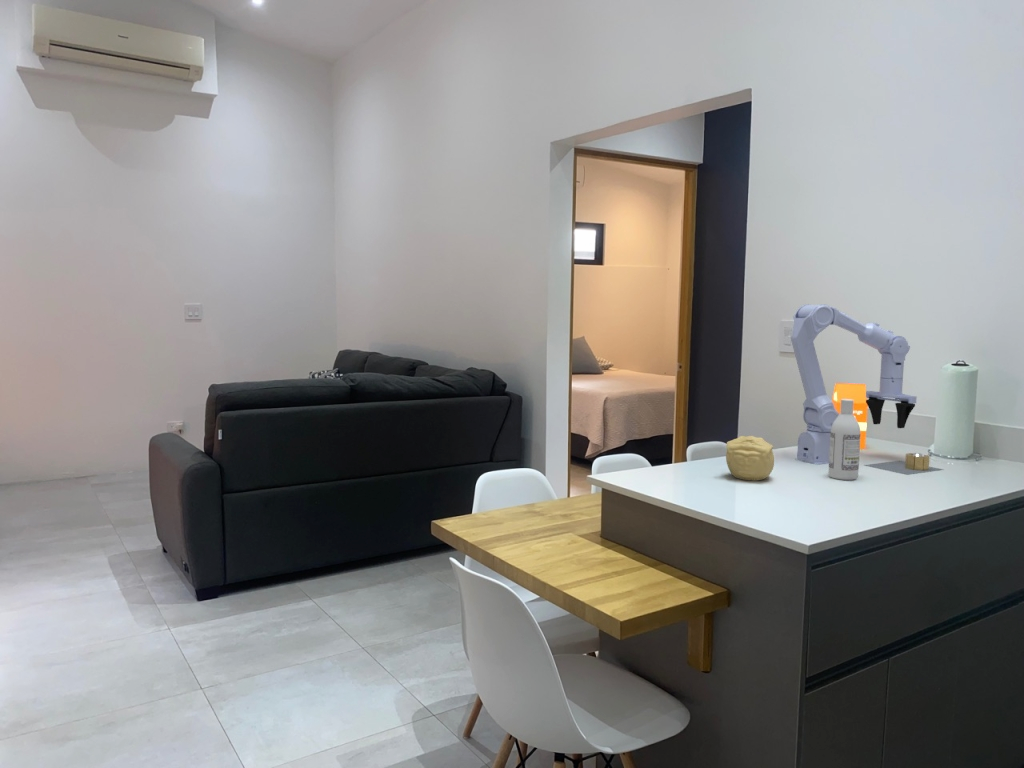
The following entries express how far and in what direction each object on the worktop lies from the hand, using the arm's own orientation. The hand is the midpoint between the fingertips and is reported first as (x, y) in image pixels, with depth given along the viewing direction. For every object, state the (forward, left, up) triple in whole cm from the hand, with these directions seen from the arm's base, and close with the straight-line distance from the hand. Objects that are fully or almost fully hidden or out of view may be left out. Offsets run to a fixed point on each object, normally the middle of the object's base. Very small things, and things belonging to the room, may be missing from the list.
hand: (888, 426), depth 212 cm
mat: (-6, -10, -10) cm, 15 cm away
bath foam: (-30, -10, -10) cm, 33 cm away
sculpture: (-52, 0, -10) cm, 53 cm away
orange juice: (+7, +19, -10) cm, 23 cm away
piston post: (-4, -12, -10) cm, 16 cm away
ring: (-4, -12, -10) cm, 16 cm away
